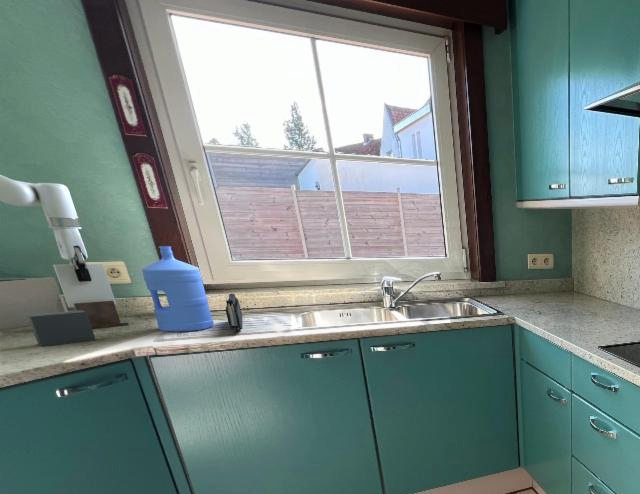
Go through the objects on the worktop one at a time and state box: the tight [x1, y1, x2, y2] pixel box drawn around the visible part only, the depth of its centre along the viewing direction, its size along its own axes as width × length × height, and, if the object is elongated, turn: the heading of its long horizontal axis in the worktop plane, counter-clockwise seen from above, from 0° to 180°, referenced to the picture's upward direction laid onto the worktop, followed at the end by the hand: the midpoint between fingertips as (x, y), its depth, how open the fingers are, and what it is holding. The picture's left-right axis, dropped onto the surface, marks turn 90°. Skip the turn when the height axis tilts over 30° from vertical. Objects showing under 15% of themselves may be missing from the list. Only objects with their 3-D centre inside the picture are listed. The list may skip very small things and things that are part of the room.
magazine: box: [225, 293, 244, 334], centre depth 181 cm, size 17×3×30 cm
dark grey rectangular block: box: [26, 310, 97, 347], centre depth 152 cm, size 12×4×9 cm, turn 147°
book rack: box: [58, 294, 129, 330], centre depth 174 cm, size 14×12×11 cm
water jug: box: [141, 245, 215, 333], centre depth 172 cm, size 16×16×28 cm
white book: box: [52, 262, 117, 308], centre depth 170 cm, size 12×2×14 cm, turn 147°
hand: (84, 280), depth 170 cm, fingers closed on white book, 2 cm apart
